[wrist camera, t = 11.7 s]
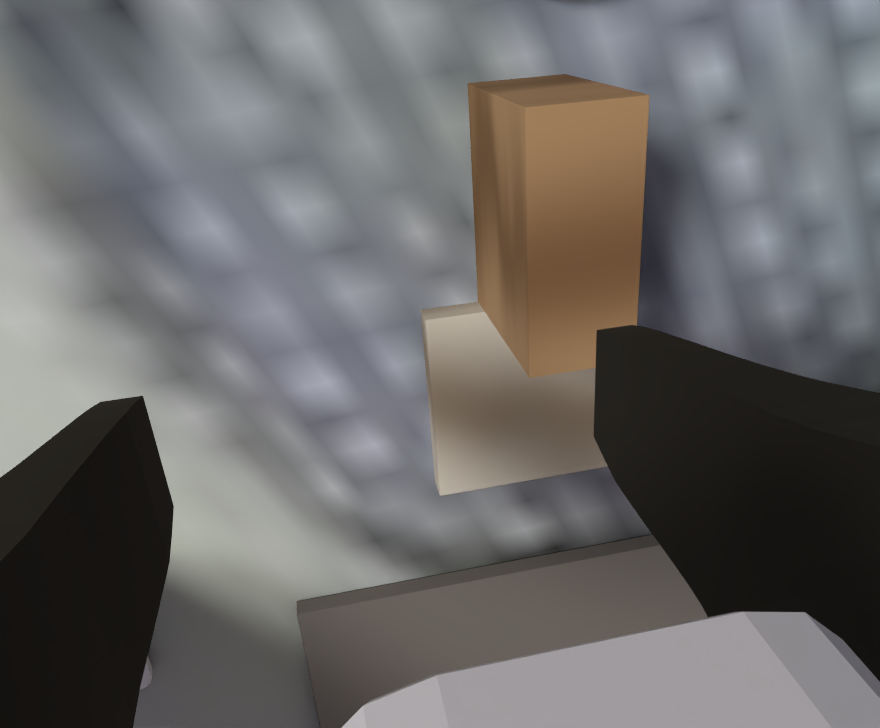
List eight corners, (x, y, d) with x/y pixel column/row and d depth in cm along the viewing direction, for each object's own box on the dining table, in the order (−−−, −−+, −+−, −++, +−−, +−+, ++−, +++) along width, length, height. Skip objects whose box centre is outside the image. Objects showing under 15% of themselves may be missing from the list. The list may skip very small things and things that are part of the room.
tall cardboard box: (401, 89, 19) (440, 115, 14) (626, 68, 20) (727, 87, 15) (435, 481, 24) (470, 588, 20) (610, 451, 25) (682, 547, 21)
